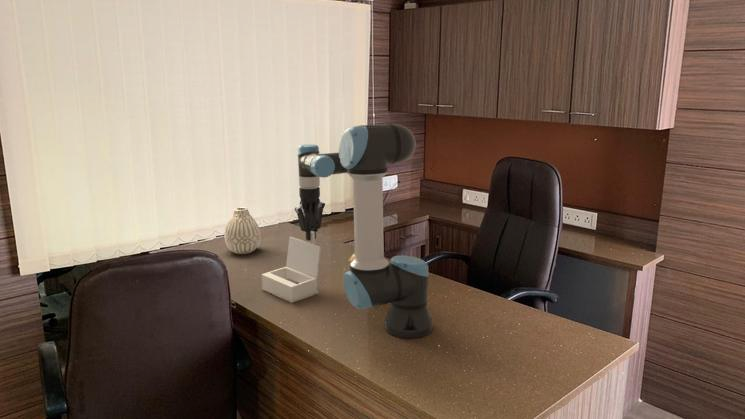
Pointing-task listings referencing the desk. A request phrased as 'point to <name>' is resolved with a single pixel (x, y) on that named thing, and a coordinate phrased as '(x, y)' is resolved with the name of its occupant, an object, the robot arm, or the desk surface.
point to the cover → (303, 256)
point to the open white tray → (289, 284)
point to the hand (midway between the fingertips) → (311, 247)
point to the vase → (242, 232)
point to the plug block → (292, 281)
